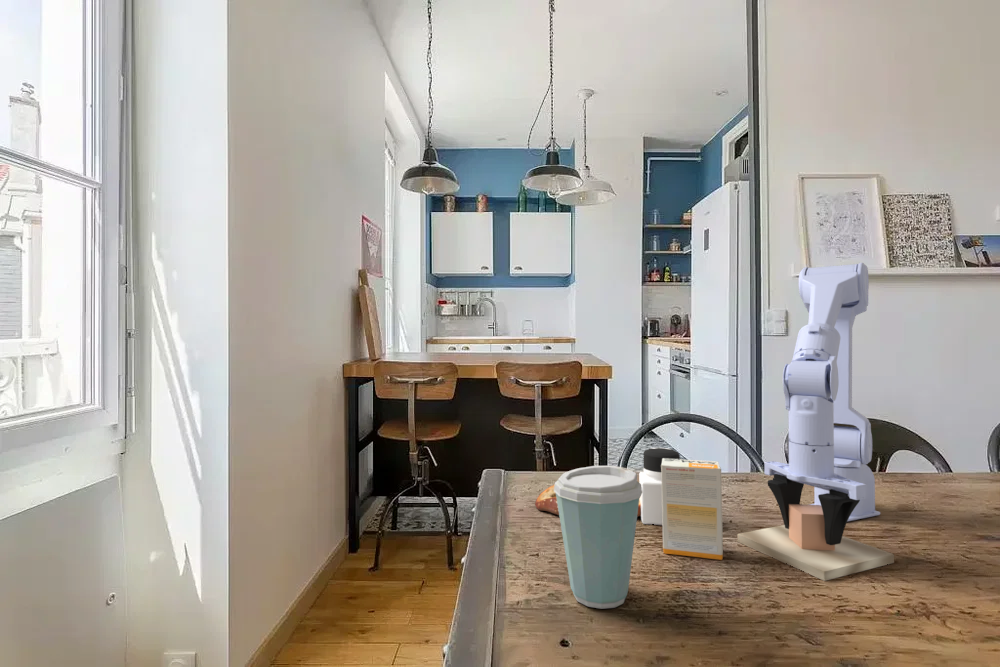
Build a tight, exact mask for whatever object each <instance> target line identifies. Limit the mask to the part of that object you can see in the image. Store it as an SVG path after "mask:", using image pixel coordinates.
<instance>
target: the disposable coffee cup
mask: <svg viewBox="0 0 1000 667" xmlns="http://www.w3.org/2000/svg"><path fill="white" fill-rule="evenodd" d="M553 485H554V491H555V493H556V498H557V504H558V511H559V515H558V517H559V522H560V529H561V535H562V541H563V548H564V552H565V553H564V555H565V560H566V566H567V573H568V578H569V579H568V580H569V586H570V590H571V591H572V592H573V593H572V594H573V596H574V598H575V600H576V601H577V602H579V603H580V604H581V605H584V606H586V607H589V608H596V609H601V610H602V609H614V608H617V607H619V606H621V605H623V604H624V603H625V601H626V598H627V595H628V592H629V586H630V578H631V569H632V563H633V552H634V544H635V538H636V531H637V530H636V527H637V520H638V517H637V514H638V505H639V498H640V497H641V494H642V488H641V484H640V483H639V481H638V473H636V472H635V471H634V470H632V469H629V468H627V467H622V466H621V467H620V466H618V465H591V466H586V467H579V468H575V469H571V470H569V471H566V472H563V473H562V474H561V475H560V477H558V478H557V480H556V481H555V482H554V484H553Z"/></svg>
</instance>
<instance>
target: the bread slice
mask: <svg viewBox="0 0 1000 667" xmlns="http://www.w3.org/2000/svg"><path fill="white" fill-rule="evenodd" d="M534 506H535V507H536V509H537V510H538V511H545V512H548V513H551V514H554V515H557V516H559V511H558V504H557V498H556V493H555V491H554V484H553V485H550V486H549V487H547V488H546V489H544V490H543V491H542V492H541V493H539V495H538V496H537V497H536V499H535V502H534ZM638 517H641V503H640V498H639V505H638V514H637V518H638Z"/></svg>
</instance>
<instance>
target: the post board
mask: <svg viewBox="0 0 1000 667" xmlns="http://www.w3.org/2000/svg"><path fill="white" fill-rule="evenodd" d="M737 543H740V544H741V545H744V546H745V547H748V548H750V549H753V550H755V551H758V552H759V553H761V554H764V555H766V556H769V557H771V558H772V557H773V558H772V559H775V560H777V561H779V562H782V563H783V564H786V563H787V564H786V565H789V566H790V565H791V567H792V566H793V568H795V569H797V570H799V569H800V571H801V570H802V572H803V571H804V573H806V574H808V573H809V574H808V575H811V576H813V577H815V578H817V579H820V580H821V581H823V582H824V581H829V580H833V579H837V578H841V577H845V576H849V575H853V574H857V573H860V572H864V571H868V570H871V569H875V568H879V567H882V566H887V564H888V565H890V564H894V563H895V555H894V553H891V552H888V551H885V550H884V549H881V548H877V547H875V546H872V545H870V544H867V543H863V542H861V541H857V540H856V539H852V538H850V537H847V536H844V535H842V539H841V543H840V544H835V550H814V549H801V548H800V547H799V546H798V545H797V544H796V543H795V542H794V541H793V540H791V539H790V538H789V529H787V528H785V525H784V524H781V525H777V526H773V527H766V528H761V529H756V530H750V531H746V532H741V533H737Z"/></svg>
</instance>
